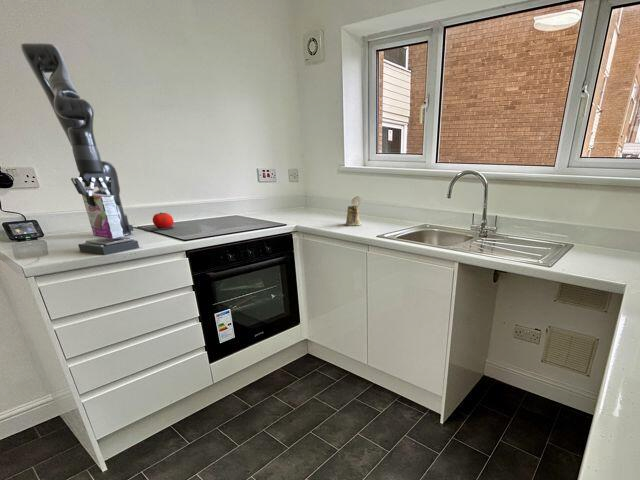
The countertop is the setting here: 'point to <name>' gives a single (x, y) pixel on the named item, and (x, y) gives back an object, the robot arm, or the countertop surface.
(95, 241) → the gray square plate
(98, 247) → the scale
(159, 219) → the tomato
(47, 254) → the countertop surface
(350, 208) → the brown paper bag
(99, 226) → the candy bar box
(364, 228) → the countertop surface
